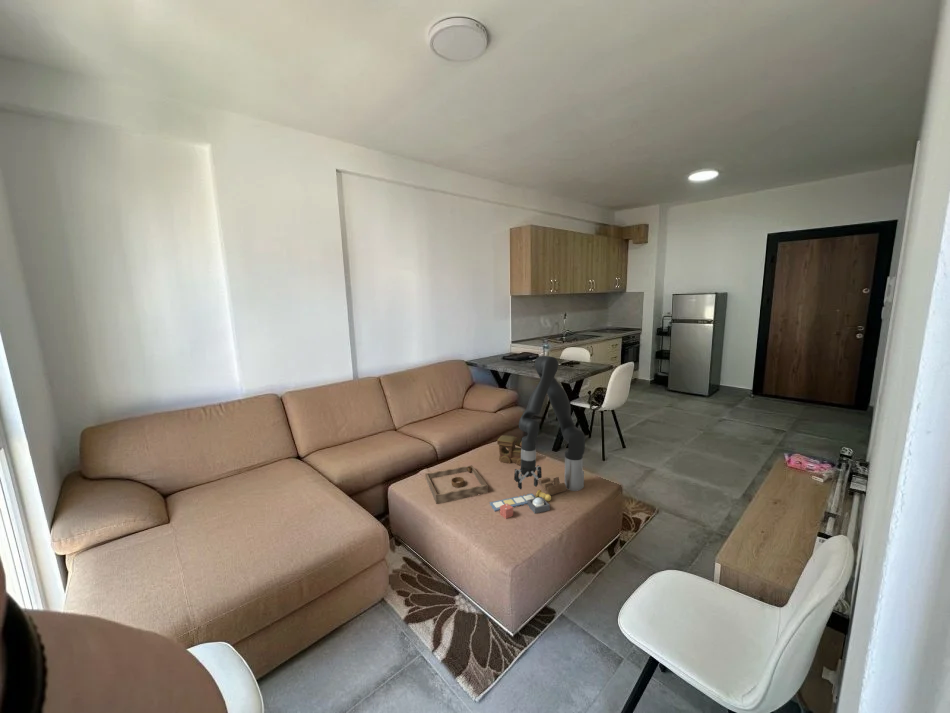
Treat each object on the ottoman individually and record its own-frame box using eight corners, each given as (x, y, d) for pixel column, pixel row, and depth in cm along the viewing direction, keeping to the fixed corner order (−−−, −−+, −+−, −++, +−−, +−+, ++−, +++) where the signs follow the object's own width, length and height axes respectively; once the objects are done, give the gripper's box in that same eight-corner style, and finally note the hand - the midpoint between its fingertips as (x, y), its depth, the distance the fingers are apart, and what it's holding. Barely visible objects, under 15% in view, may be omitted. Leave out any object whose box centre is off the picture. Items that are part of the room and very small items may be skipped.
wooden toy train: (496, 466, 233) (496, 440, 230) (503, 458, 243) (502, 434, 241) (528, 471, 225) (528, 444, 222) (533, 463, 235) (533, 437, 233)
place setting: (440, 485, 212) (440, 475, 212) (469, 474, 224) (469, 465, 223) (457, 498, 198) (456, 487, 197) (487, 486, 209) (487, 476, 208)
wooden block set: (534, 477, 208) (549, 473, 212) (537, 493, 206) (552, 488, 211) (553, 479, 192) (569, 474, 196) (557, 497, 190) (573, 492, 195)
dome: (540, 503, 189) (540, 494, 188) (546, 509, 184) (546, 499, 183) (530, 505, 187) (530, 496, 186) (536, 511, 182) (535, 502, 181)
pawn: (537, 499, 195) (550, 504, 191) (535, 495, 192) (548, 501, 188) (540, 491, 197) (553, 496, 193) (538, 488, 194) (551, 493, 190)
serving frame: (472, 473, 224) (471, 465, 223) (488, 494, 200) (487, 485, 199) (425, 481, 215) (425, 473, 214) (436, 504, 191) (436, 495, 190)
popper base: (541, 502, 191) (541, 496, 190) (549, 510, 183) (549, 504, 183) (527, 505, 188) (527, 500, 188) (534, 513, 181) (534, 508, 180)
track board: (532, 494, 198) (532, 492, 198) (539, 501, 191) (539, 499, 191) (489, 503, 190) (489, 502, 190) (495, 511, 183) (494, 509, 183)
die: (507, 511, 183) (507, 503, 182) (513, 515, 179) (513, 507, 179) (500, 514, 181) (499, 506, 180) (505, 519, 177) (505, 510, 176)
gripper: (537, 452, 196) (536, 481, 198) (512, 456, 191) (511, 486, 194) (544, 458, 189) (543, 488, 191) (518, 462, 184) (518, 493, 187)
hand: (527, 487), depth 193 cm, fingers open, 8 cm apart
